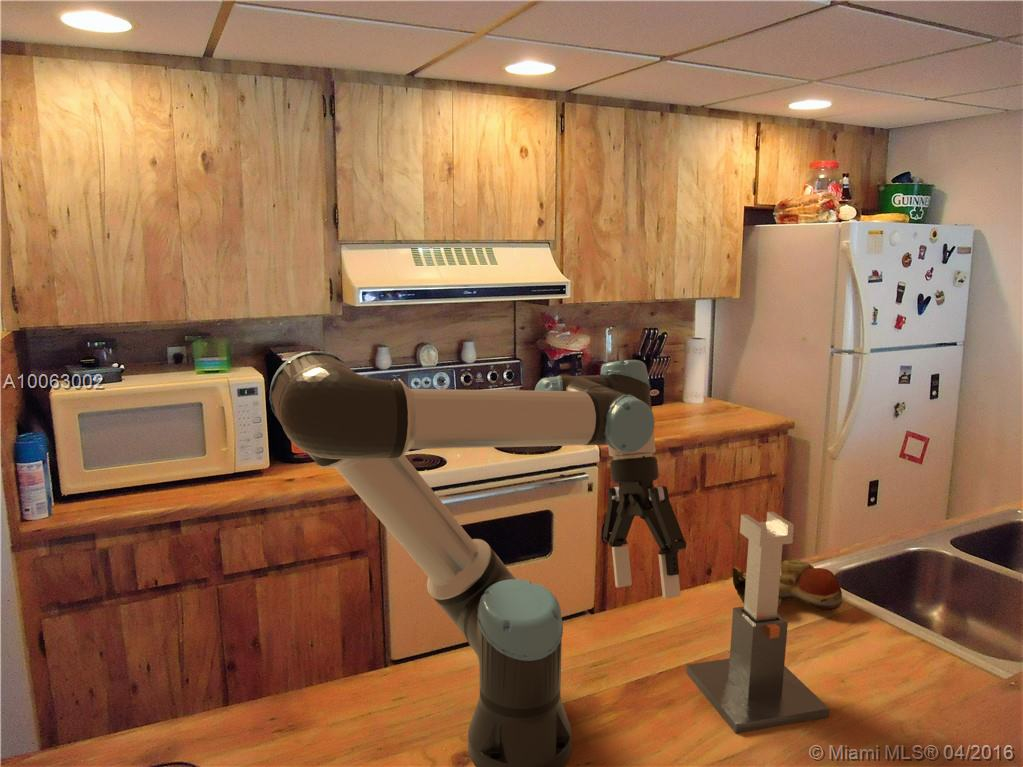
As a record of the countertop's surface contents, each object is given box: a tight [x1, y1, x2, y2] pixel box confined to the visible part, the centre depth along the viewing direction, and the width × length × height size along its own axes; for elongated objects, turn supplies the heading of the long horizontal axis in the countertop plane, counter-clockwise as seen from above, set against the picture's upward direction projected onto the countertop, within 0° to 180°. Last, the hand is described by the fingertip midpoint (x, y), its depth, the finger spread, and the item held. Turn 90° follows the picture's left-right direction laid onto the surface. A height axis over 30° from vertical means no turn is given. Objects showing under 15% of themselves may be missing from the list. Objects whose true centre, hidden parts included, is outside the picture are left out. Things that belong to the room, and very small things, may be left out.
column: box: [739, 511, 795, 623], centre depth 118 cm, size 6×6×28 cm
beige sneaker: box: [732, 557, 843, 611], centre depth 149 cm, size 15×9×20 cm
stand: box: [685, 605, 830, 734], centre depth 119 cm, size 16×16×14 cm
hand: (646, 591), depth 118 cm, fingers open, 13 cm apart
